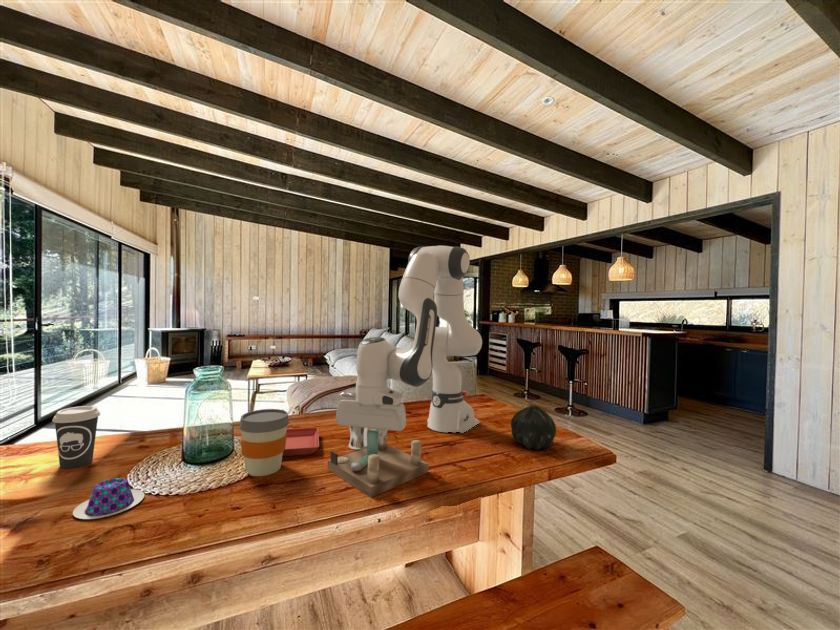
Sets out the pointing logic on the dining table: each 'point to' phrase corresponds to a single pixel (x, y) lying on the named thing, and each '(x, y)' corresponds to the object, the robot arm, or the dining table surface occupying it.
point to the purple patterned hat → (109, 499)
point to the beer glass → (353, 439)
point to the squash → (533, 428)
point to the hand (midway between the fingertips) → (370, 442)
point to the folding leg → (371, 449)
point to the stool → (380, 467)
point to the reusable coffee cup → (263, 440)
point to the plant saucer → (301, 441)
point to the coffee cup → (76, 435)
